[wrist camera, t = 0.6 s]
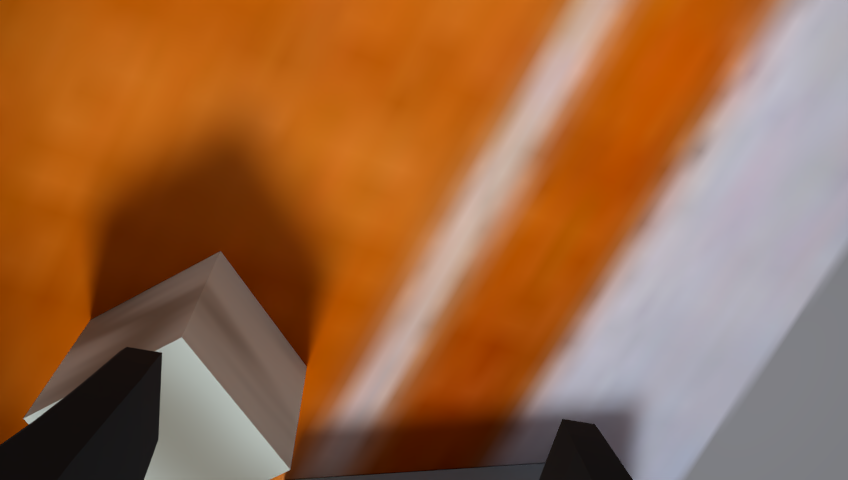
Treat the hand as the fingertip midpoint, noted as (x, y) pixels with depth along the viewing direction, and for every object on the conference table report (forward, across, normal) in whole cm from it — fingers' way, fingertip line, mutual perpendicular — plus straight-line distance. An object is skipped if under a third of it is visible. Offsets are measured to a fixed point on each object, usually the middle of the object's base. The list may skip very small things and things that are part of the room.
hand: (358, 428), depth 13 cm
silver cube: (+10, +5, +6) cm, 13 cm away
